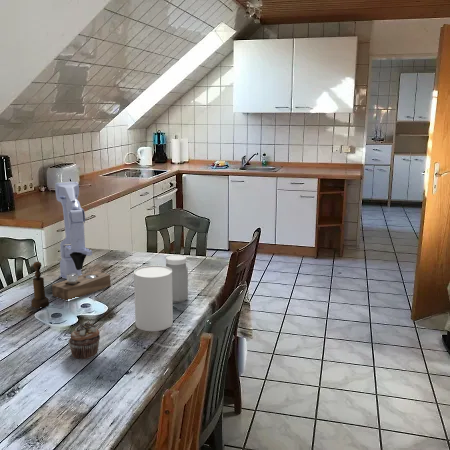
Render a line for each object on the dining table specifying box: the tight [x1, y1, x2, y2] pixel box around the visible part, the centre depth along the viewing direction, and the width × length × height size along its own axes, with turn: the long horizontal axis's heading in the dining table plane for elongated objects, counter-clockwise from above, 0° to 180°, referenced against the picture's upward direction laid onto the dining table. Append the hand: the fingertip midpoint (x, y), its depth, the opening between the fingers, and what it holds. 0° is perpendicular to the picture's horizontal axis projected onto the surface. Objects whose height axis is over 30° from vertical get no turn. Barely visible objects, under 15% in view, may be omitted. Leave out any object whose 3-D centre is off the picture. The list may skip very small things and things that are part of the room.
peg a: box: [66, 273, 78, 286], centre depth 208 cm, size 4×4×5 cm
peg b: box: [86, 275, 96, 279], centre depth 216 cm, size 4×4×5 cm
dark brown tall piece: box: [30, 261, 50, 309], centre depth 195 cm, size 7×6×18 cm
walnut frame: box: [51, 270, 112, 301], centre depth 212 cm, size 10×23×5 cm, turn 147°
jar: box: [165, 254, 189, 304], centre depth 203 cm, size 10×10×18 cm
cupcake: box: [68, 321, 101, 360], centre depth 158 cm, size 10×10×10 cm
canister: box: [133, 264, 174, 332], centre depth 180 cm, size 14×14×20 cm
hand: (79, 269), depth 210 cm, fingers closed
